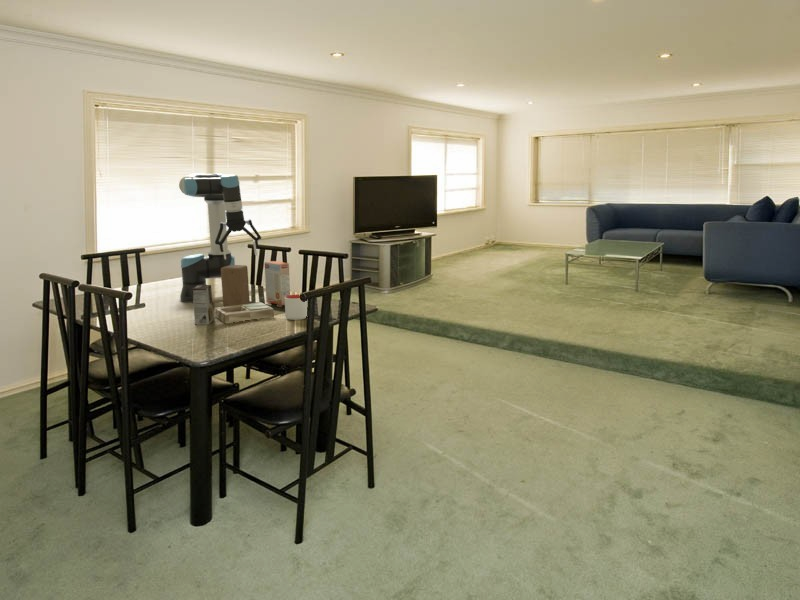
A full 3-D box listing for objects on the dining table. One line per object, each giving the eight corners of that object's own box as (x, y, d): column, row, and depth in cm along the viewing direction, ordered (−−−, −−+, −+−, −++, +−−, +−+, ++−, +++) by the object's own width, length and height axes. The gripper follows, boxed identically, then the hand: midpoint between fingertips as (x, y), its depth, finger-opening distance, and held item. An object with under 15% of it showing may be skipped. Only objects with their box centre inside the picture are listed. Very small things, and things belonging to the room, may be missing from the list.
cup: (296, 314, 272) (295, 293, 270) (312, 317, 266) (311, 295, 264) (280, 318, 264) (279, 297, 262) (297, 321, 258) (295, 299, 256)
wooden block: (241, 308, 286) (238, 268, 281) (222, 307, 288) (219, 267, 283) (250, 304, 295) (248, 265, 291) (232, 303, 297) (229, 264, 293)
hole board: (215, 316, 270) (214, 307, 269) (261, 310, 281) (261, 301, 280) (225, 323, 256) (225, 314, 255) (274, 317, 267) (273, 307, 266)
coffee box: (199, 319, 263) (196, 284, 260) (214, 319, 264) (211, 284, 261) (194, 324, 254) (191, 288, 251) (209, 324, 255) (206, 288, 252)
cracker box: (291, 304, 295) (289, 262, 290) (281, 305, 291) (279, 264, 286) (276, 300, 305) (274, 260, 300) (266, 301, 300) (263, 261, 296)
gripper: (205, 214, 253) (212, 262, 260) (263, 208, 260) (269, 255, 267) (204, 212, 260) (212, 258, 267) (261, 206, 267) (267, 251, 274)
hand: (240, 256), depth 267 cm, fingers open, 13 cm apart
